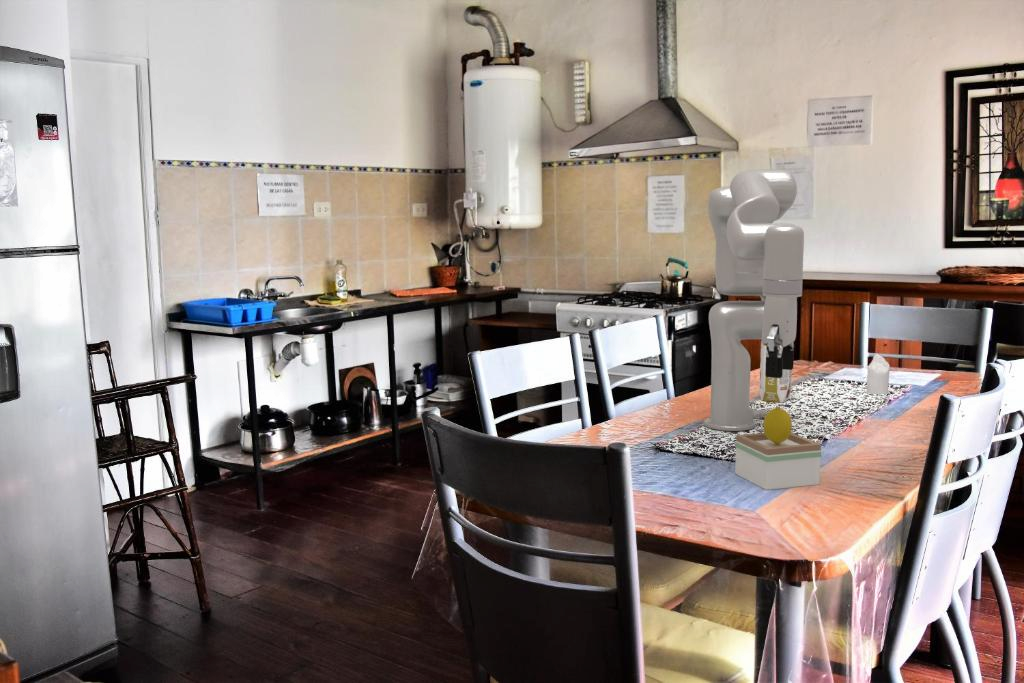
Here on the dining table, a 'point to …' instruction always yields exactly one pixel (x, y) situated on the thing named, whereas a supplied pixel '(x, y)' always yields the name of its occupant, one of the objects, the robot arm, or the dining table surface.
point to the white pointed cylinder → (878, 376)
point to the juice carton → (773, 382)
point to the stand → (777, 461)
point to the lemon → (777, 425)
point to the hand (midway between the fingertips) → (779, 373)
